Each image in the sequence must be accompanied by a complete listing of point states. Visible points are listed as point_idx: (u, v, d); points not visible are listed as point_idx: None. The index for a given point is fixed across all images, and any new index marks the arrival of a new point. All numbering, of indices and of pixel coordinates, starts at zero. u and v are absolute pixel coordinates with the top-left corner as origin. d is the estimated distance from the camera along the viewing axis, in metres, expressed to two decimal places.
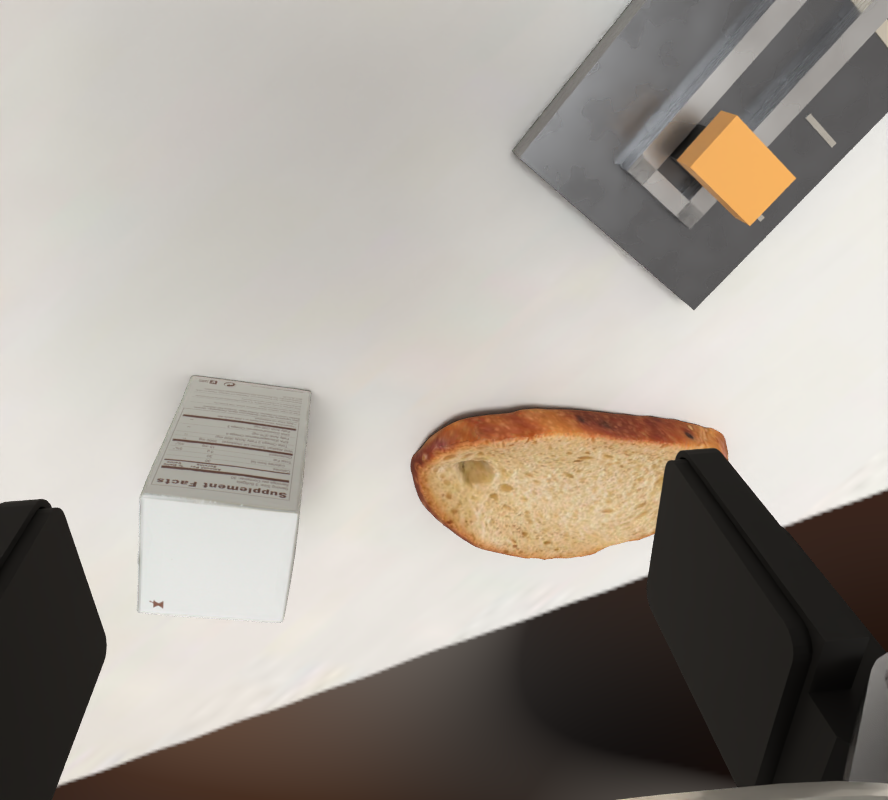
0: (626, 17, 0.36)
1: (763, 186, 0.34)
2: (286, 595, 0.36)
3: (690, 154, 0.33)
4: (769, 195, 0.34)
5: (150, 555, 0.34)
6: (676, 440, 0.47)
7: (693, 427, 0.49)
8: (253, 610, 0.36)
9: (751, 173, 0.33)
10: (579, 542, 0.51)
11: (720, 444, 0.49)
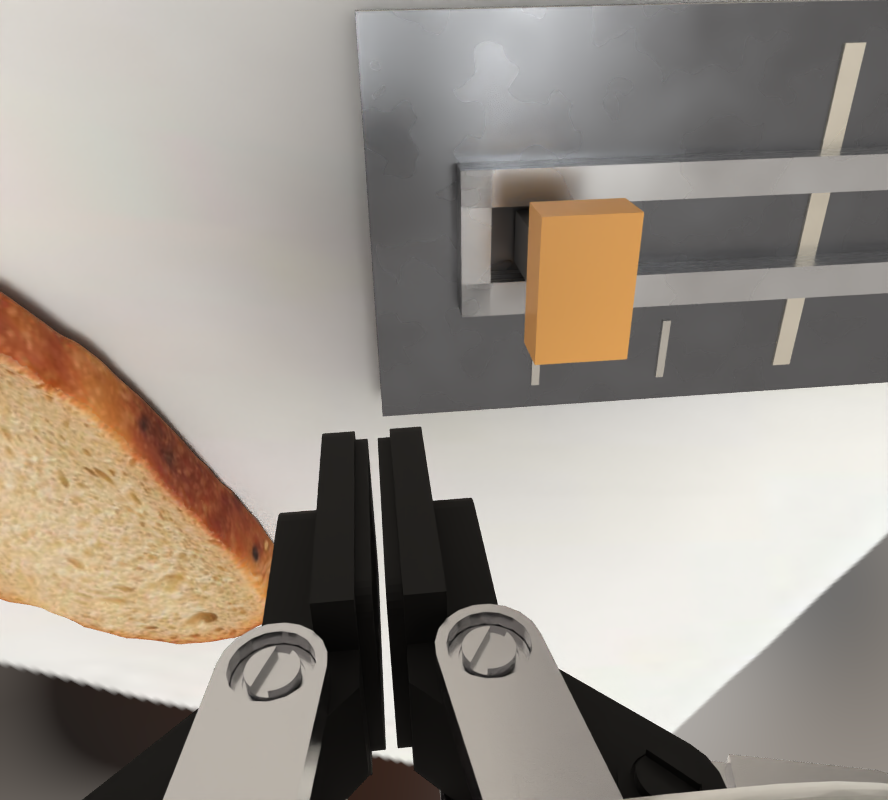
0: None
1: (590, 331, 0.21)
2: None
3: (552, 207, 0.20)
4: (585, 349, 0.21)
5: None
6: (235, 548, 0.31)
7: (269, 547, 0.33)
8: None
9: (593, 302, 0.21)
10: (0, 573, 0.31)
11: None
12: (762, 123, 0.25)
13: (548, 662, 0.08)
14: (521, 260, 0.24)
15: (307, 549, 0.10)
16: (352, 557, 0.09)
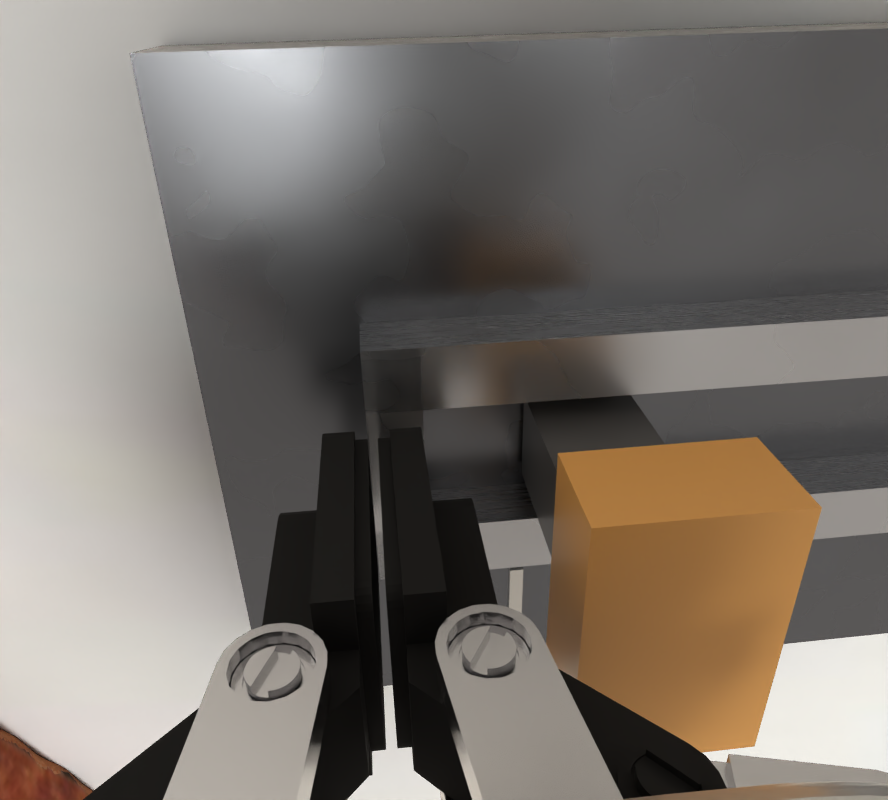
0: (651, 32, 0.12)
1: (684, 711, 0.10)
2: None
3: (610, 480, 0.09)
4: None
5: None
6: None
7: None
8: None
9: (694, 665, 0.10)
10: None
11: None
12: None
13: (547, 662, 0.08)
14: (535, 490, 0.14)
15: (307, 549, 0.10)
16: (352, 557, 0.09)
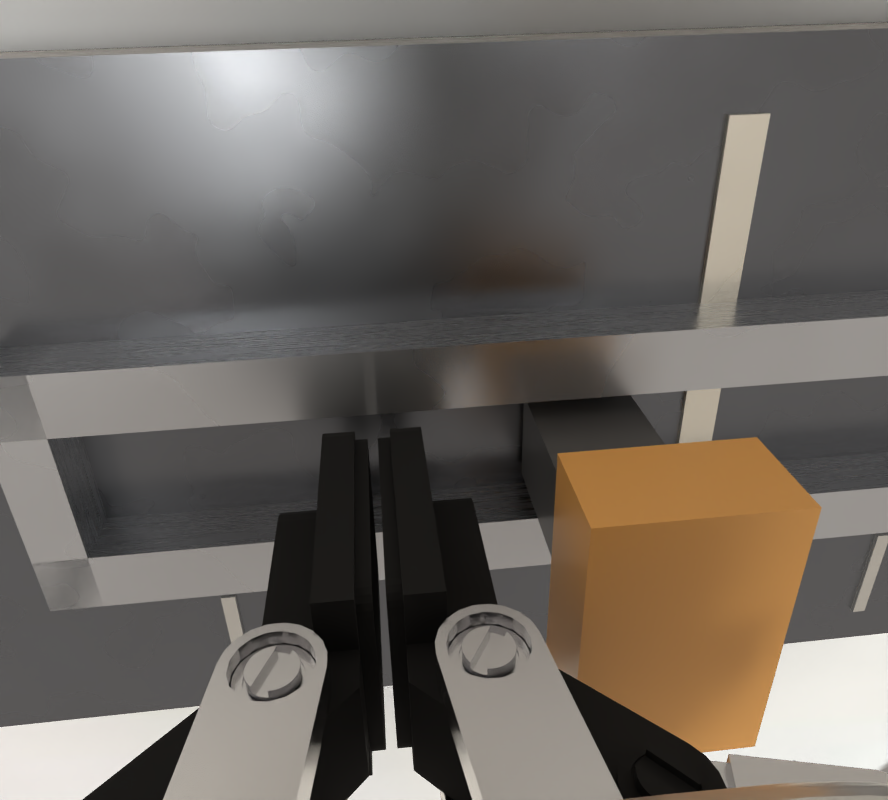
0: (268, 45, 0.12)
1: (684, 711, 0.10)
2: None
3: (610, 481, 0.09)
4: None
5: None
6: None
7: None
8: None
9: (694, 665, 0.10)
10: None
11: None
12: (583, 262, 0.13)
13: (548, 662, 0.08)
14: (535, 490, 0.14)
15: (306, 549, 0.10)
16: (352, 557, 0.09)
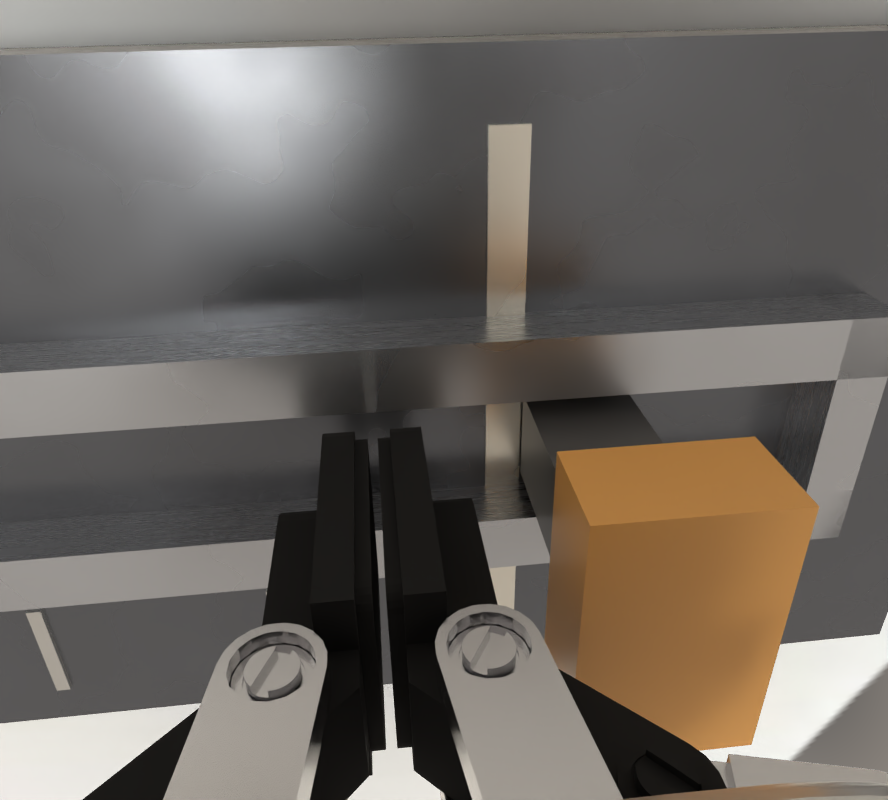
0: (9, 51, 0.11)
1: (681, 708, 0.10)
2: None
3: (609, 479, 0.09)
4: None
5: None
6: None
7: None
8: None
9: (692, 663, 0.10)
10: None
11: None
12: (359, 273, 0.13)
13: (547, 662, 0.08)
14: (534, 489, 0.14)
15: (306, 548, 0.10)
16: (352, 557, 0.09)
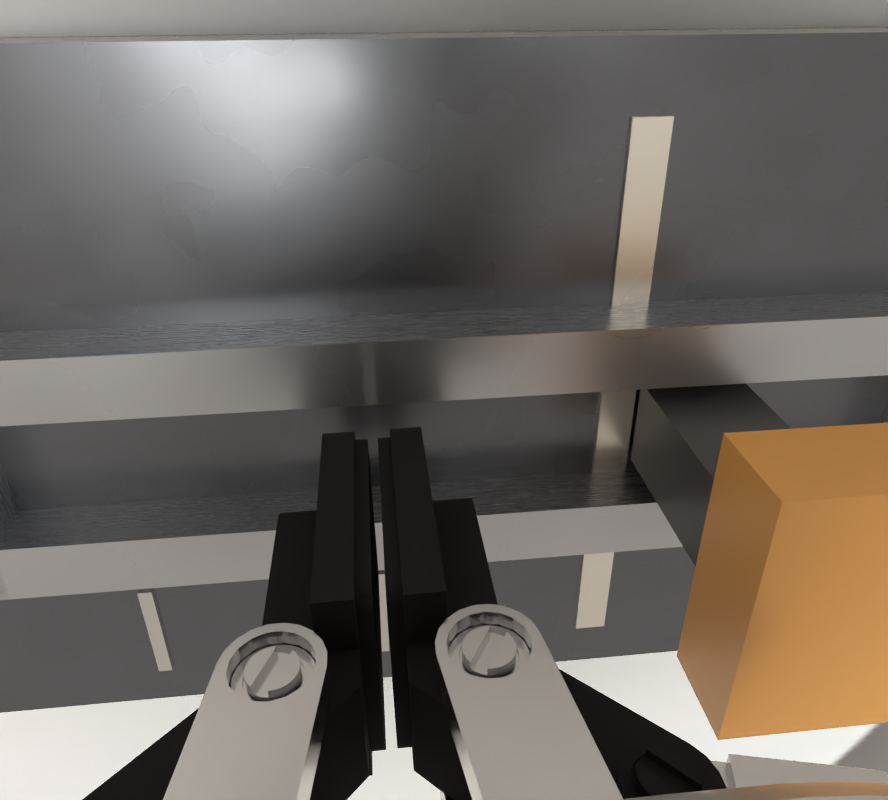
0: (168, 37, 0.12)
1: (834, 685, 0.11)
2: None
3: (784, 459, 0.10)
4: (819, 712, 0.11)
5: None
6: None
7: None
8: None
9: (852, 640, 0.10)
10: None
11: None
12: (492, 261, 0.13)
13: (547, 662, 0.08)
14: (654, 475, 0.14)
15: (306, 549, 0.10)
16: (352, 557, 0.09)
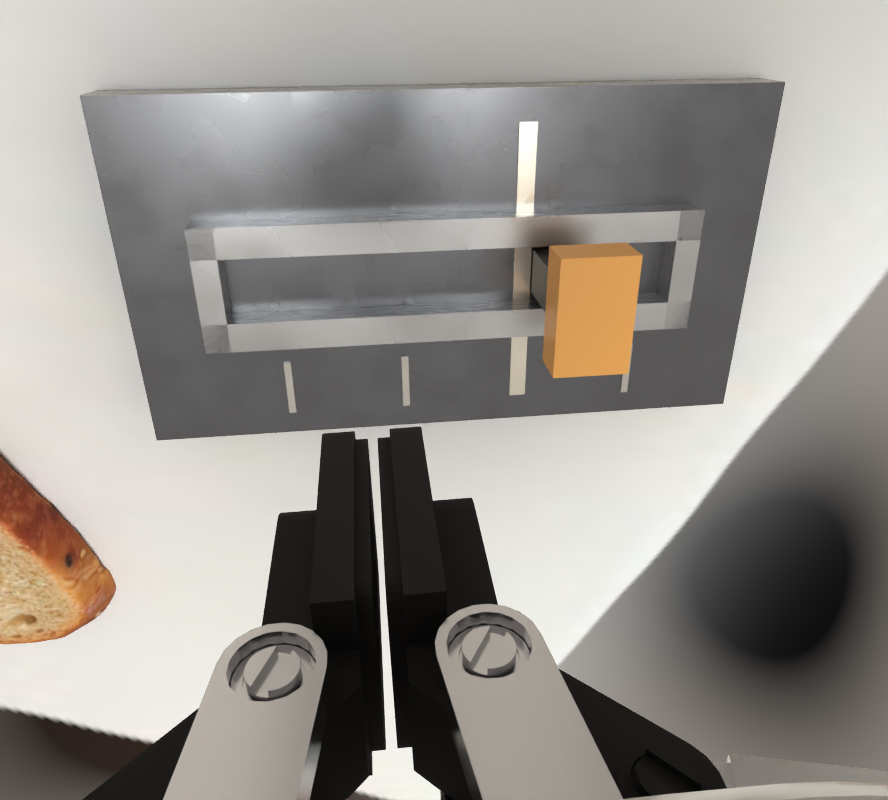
0: (319, 88, 0.27)
1: (598, 351, 0.26)
2: None
3: (568, 250, 0.25)
4: (594, 365, 0.26)
5: None
6: (45, 555, 0.34)
7: (86, 555, 0.36)
8: None
9: (601, 327, 0.25)
10: None
11: (95, 596, 0.36)
12: (460, 188, 0.28)
13: (547, 662, 0.08)
14: (538, 291, 0.29)
15: (307, 548, 0.10)
16: (352, 557, 0.09)
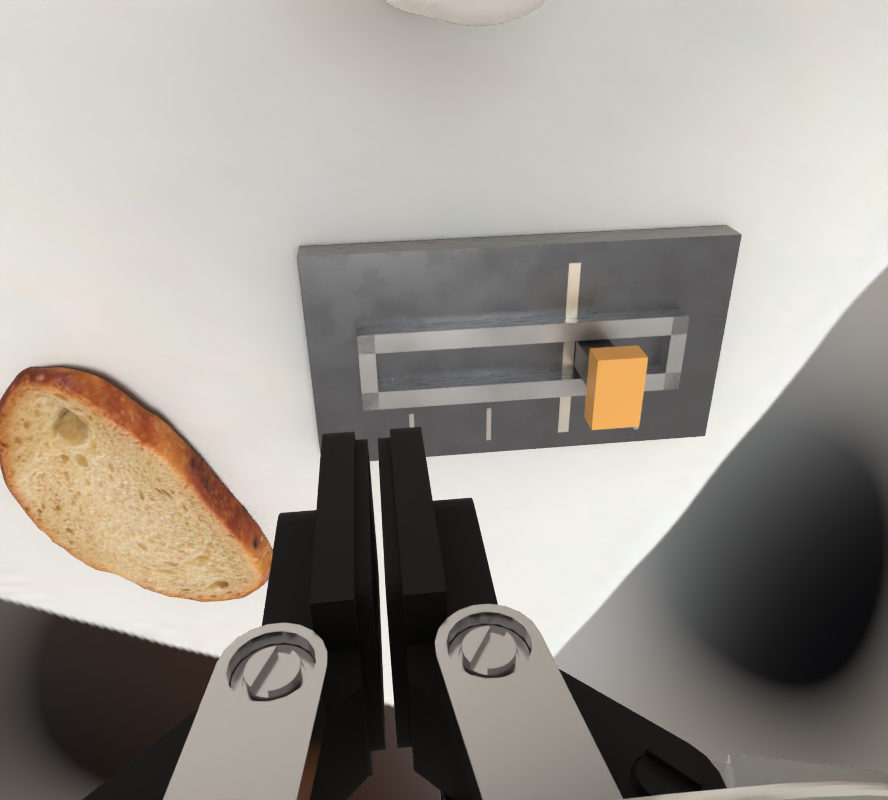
0: (441, 244, 0.42)
1: (620, 413, 0.41)
2: None
3: (602, 353, 0.40)
4: (617, 422, 0.42)
5: None
6: (243, 540, 0.50)
7: (263, 540, 0.52)
8: None
9: (622, 399, 0.41)
10: (95, 552, 0.49)
11: (268, 569, 0.52)
12: (529, 303, 0.44)
13: (547, 662, 0.08)
14: (580, 368, 0.45)
15: (306, 549, 0.10)
16: (352, 557, 0.09)
